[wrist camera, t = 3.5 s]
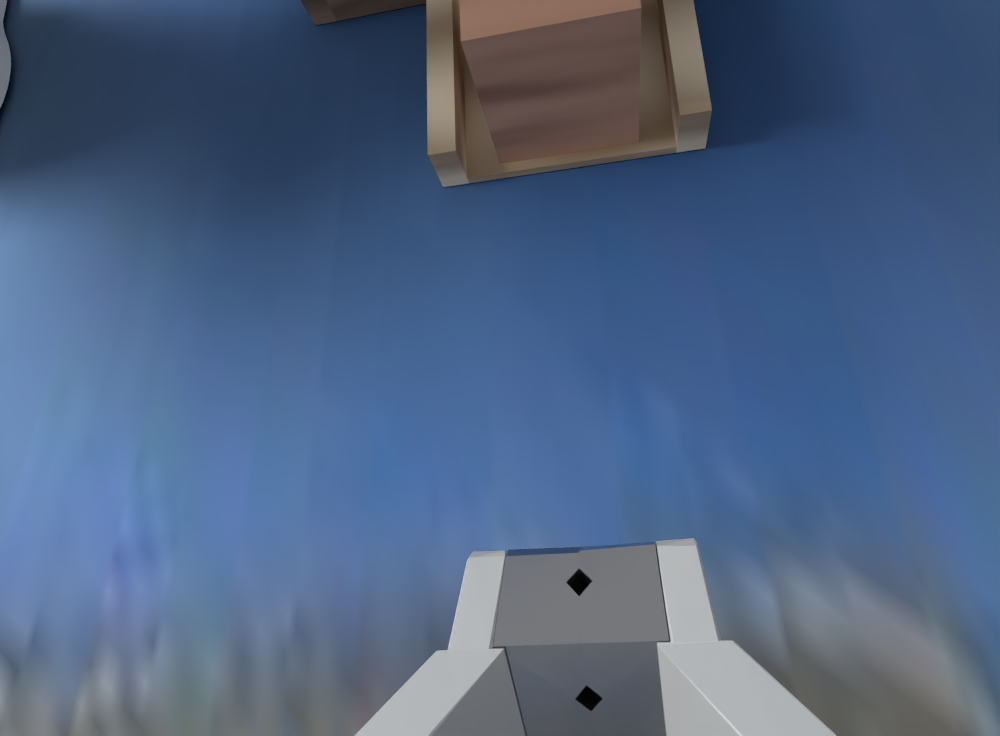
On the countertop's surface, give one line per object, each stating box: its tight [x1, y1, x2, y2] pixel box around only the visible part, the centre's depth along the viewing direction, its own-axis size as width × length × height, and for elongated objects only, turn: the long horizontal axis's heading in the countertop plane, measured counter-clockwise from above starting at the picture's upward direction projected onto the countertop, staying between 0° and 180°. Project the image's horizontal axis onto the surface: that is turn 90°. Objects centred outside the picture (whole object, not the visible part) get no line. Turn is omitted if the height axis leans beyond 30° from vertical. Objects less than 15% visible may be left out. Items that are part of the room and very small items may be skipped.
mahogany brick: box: [460, 0, 641, 163], centre depth 26 cm, size 9×6×7 cm, turn 2°
